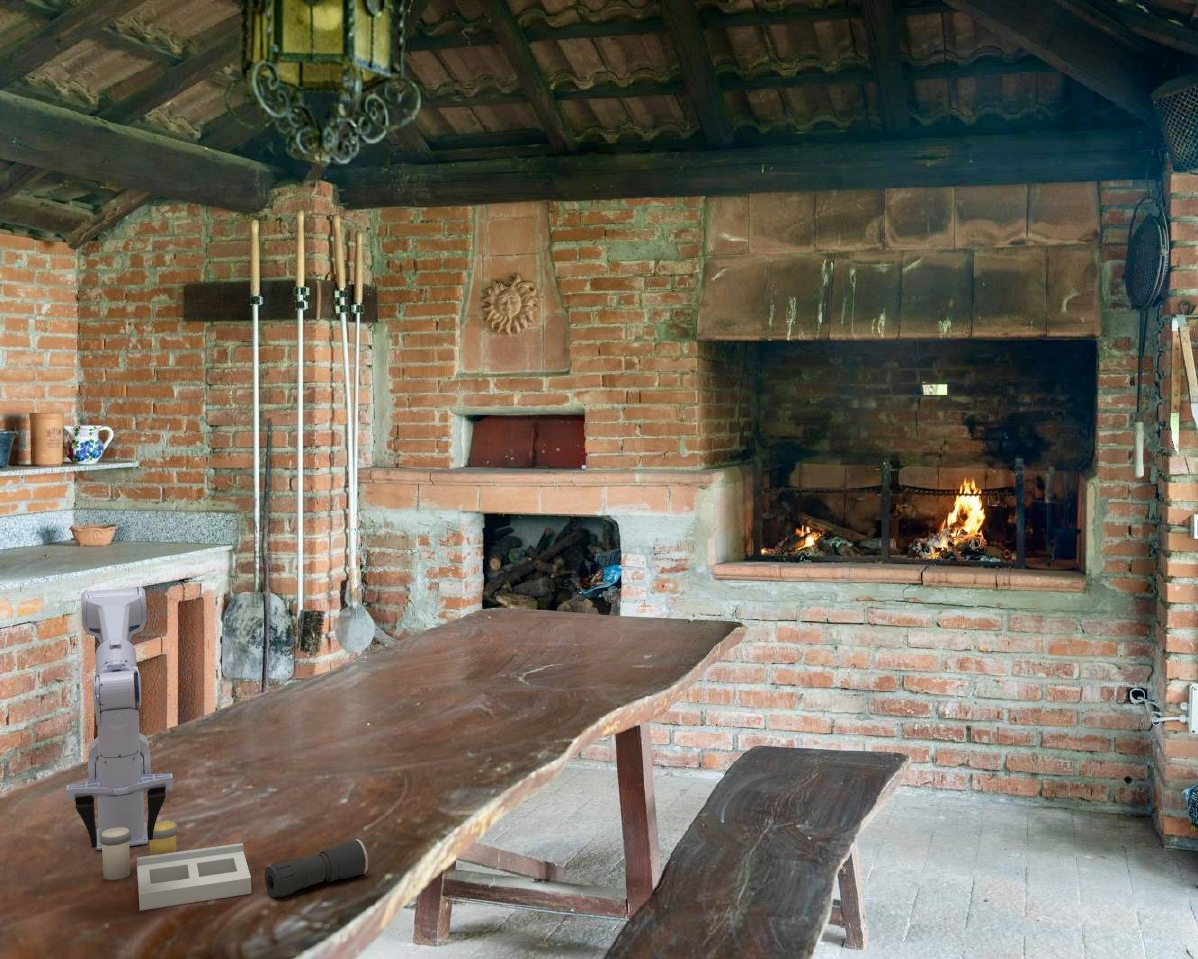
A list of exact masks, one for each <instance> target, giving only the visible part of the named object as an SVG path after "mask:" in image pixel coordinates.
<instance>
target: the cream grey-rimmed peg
mask: <svg viewBox="0 0 1198 959" xmlns="http://www.w3.org/2000/svg"><path fill="white" fill-rule="evenodd" d="M129 840H131V830H130V829H129V828H126V827H115V828H110V829H106V830H104V831H102V832H101V833H100V843H101V844H102V850H101V851H102V852H101V853H102V856H101V857H102V875H103V876H102V878H103V879H105V880H108V881H116V880H117V881H118V880H121V879H124V878H127V877H129V876H130V874H131V856H130V854H131V853H130V846H129Z"/></svg>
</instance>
